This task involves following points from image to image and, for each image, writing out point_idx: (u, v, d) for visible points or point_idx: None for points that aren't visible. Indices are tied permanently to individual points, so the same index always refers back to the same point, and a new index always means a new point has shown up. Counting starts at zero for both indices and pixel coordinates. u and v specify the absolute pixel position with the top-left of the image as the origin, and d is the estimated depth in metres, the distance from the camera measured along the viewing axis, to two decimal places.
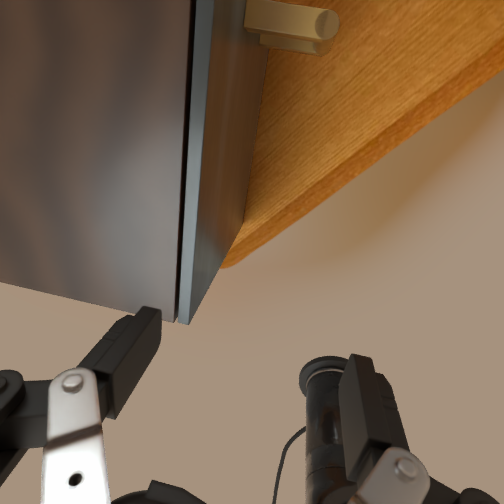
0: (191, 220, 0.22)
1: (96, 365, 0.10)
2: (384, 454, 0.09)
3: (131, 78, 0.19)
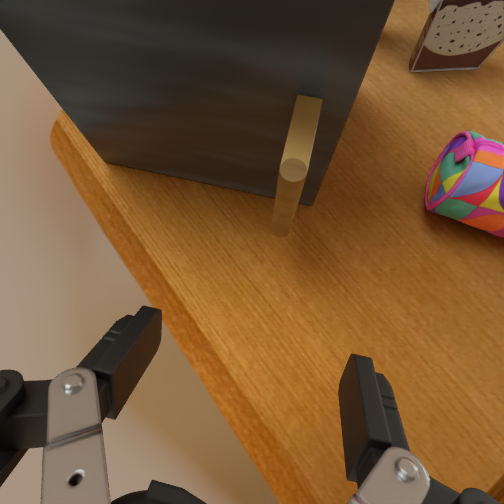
0: None
1: (96, 365, 0.10)
2: (384, 454, 0.09)
3: None
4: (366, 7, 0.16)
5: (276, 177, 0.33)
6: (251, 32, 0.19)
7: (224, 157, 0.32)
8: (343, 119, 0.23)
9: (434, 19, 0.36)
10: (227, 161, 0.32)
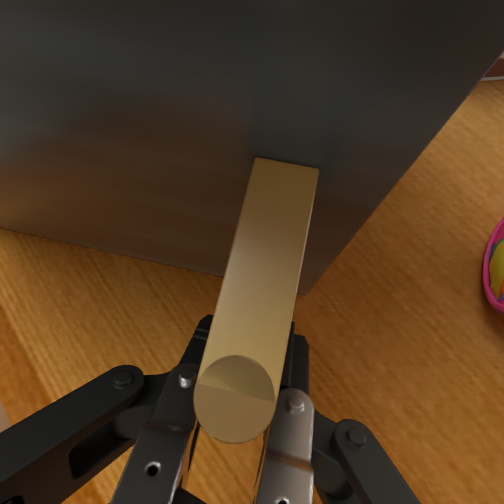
0: None
1: (200, 361, 0.11)
2: (278, 393, 0.10)
3: None
4: None
5: None
6: None
7: (150, 237, 0.18)
8: (368, 206, 0.10)
9: None
10: (158, 241, 0.19)
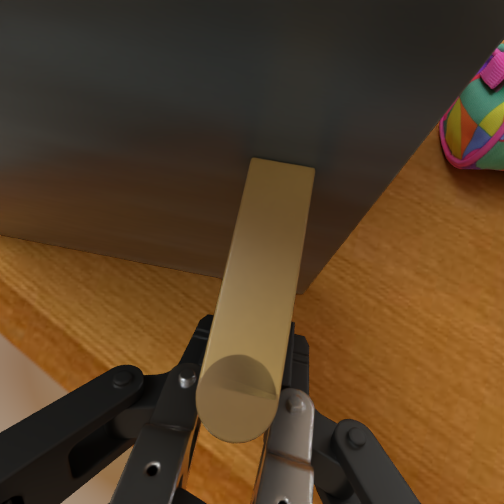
0: None
1: (200, 361, 0.11)
2: None
3: None
4: None
5: None
6: None
7: (146, 239, 0.18)
8: (364, 204, 0.10)
9: None
10: (154, 243, 0.19)
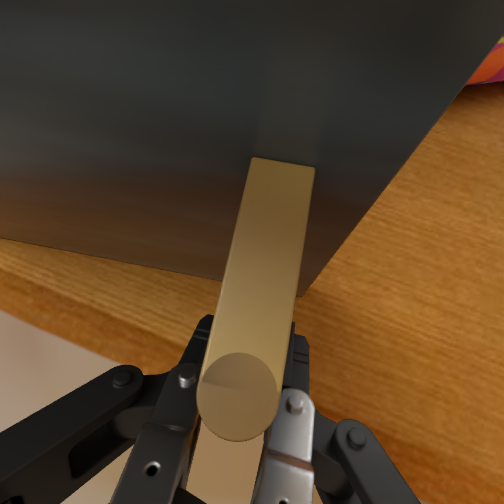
0: None
1: (200, 360, 0.11)
2: None
3: None
4: None
5: None
6: None
7: (145, 241, 0.18)
8: (364, 204, 0.10)
9: None
10: (153, 245, 0.19)
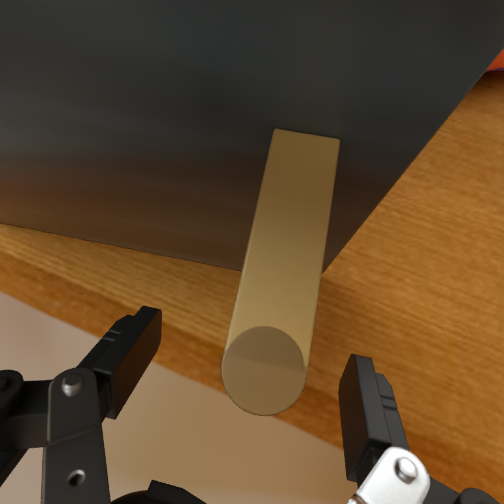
0: None
1: (96, 365, 0.10)
2: (384, 454, 0.09)
3: None
4: None
5: None
6: None
7: (157, 226, 0.18)
8: (388, 180, 0.10)
9: None
10: (164, 231, 0.19)
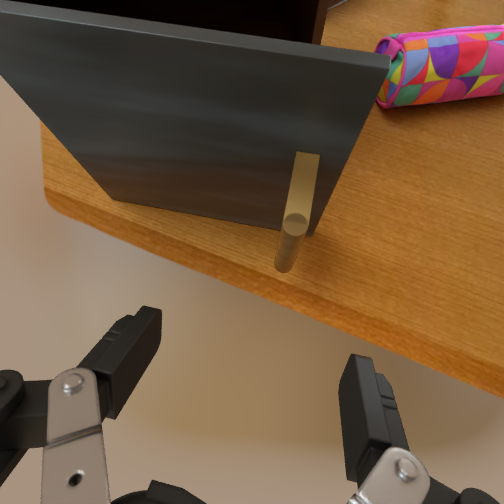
0: (90, 19, 0.18)
1: (96, 365, 0.10)
2: (384, 454, 0.09)
3: None
4: (357, 90, 0.18)
5: (277, 213, 0.35)
6: (254, 105, 0.21)
7: (227, 197, 0.34)
8: (339, 170, 0.25)
9: None
10: (230, 200, 0.34)
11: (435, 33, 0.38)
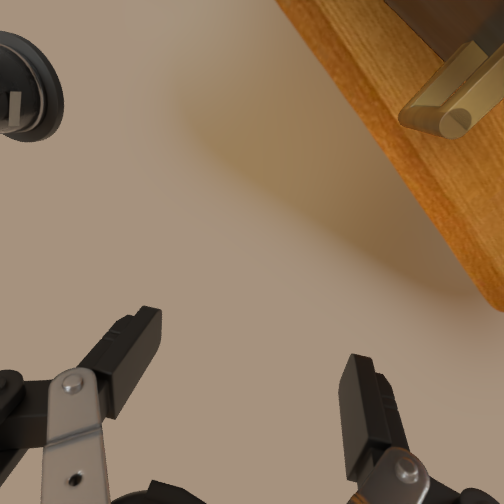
0: None
1: (96, 365, 0.10)
2: (384, 454, 0.09)
3: None
4: None
5: (450, 40, 0.26)
6: None
7: None
8: None
9: None
10: None
11: None
